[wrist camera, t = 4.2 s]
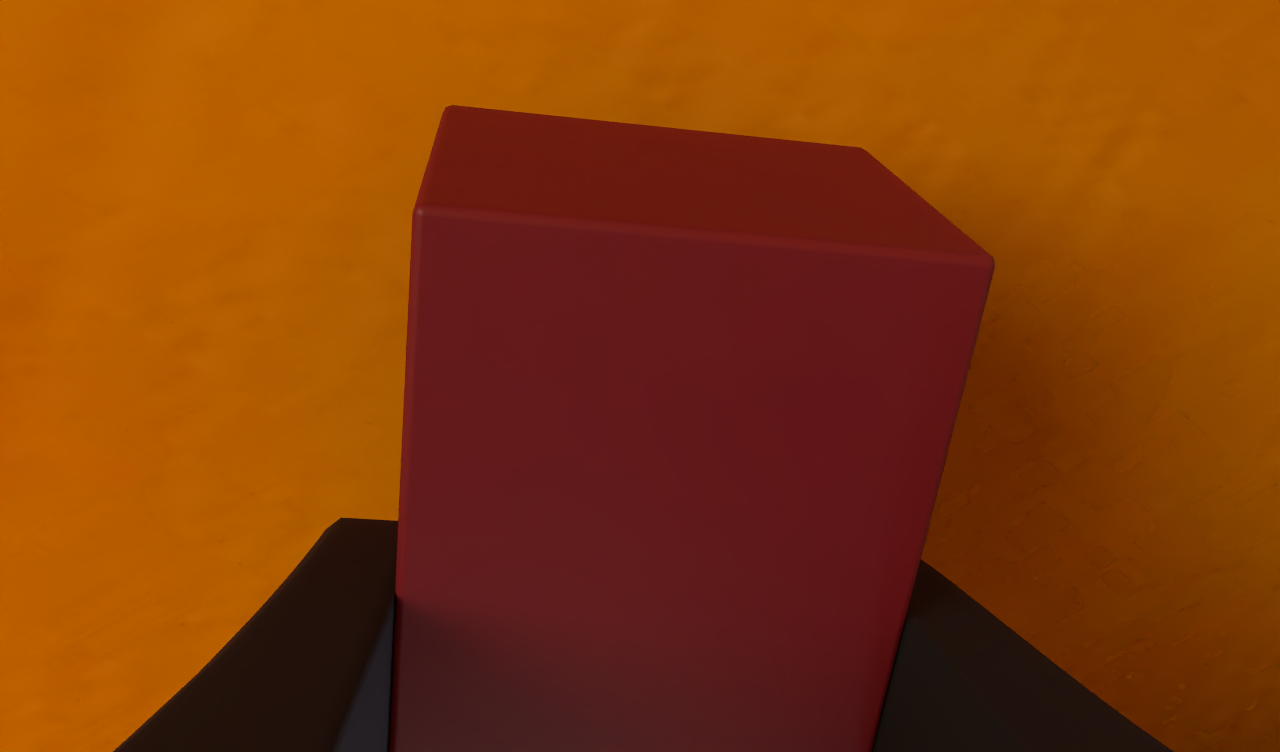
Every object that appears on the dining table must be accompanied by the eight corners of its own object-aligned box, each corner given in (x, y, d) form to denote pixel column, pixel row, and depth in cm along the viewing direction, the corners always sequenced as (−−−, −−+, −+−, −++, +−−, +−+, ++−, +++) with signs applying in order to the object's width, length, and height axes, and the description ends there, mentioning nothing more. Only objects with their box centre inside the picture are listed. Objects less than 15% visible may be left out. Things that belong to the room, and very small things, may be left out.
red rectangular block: (444, 102, 9) (412, 203, 7) (866, 146, 10) (1000, 258, 7) (401, 856, 12) (369, 1136, 10) (723, 861, 13) (777, 1132, 10)
